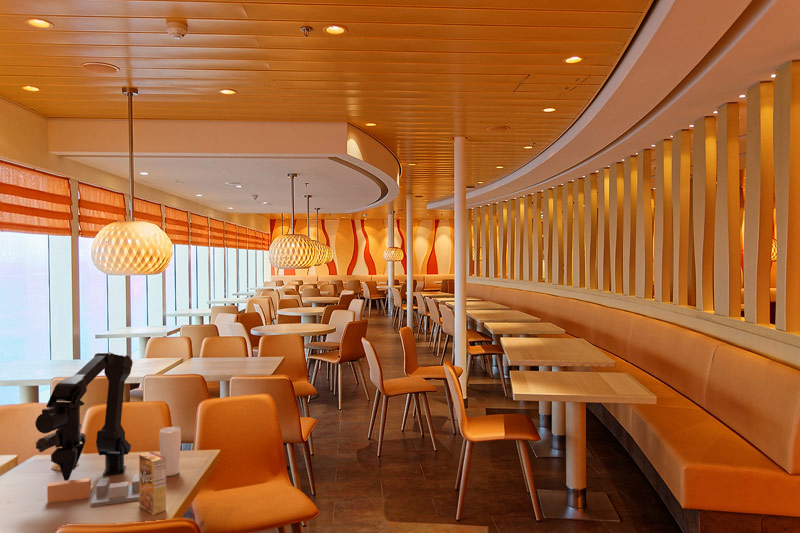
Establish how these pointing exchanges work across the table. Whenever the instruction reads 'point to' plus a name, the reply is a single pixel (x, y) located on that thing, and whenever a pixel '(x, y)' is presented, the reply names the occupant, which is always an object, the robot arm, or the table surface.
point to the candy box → (152, 482)
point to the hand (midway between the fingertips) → (69, 474)
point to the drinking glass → (170, 448)
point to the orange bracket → (69, 490)
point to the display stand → (115, 492)
